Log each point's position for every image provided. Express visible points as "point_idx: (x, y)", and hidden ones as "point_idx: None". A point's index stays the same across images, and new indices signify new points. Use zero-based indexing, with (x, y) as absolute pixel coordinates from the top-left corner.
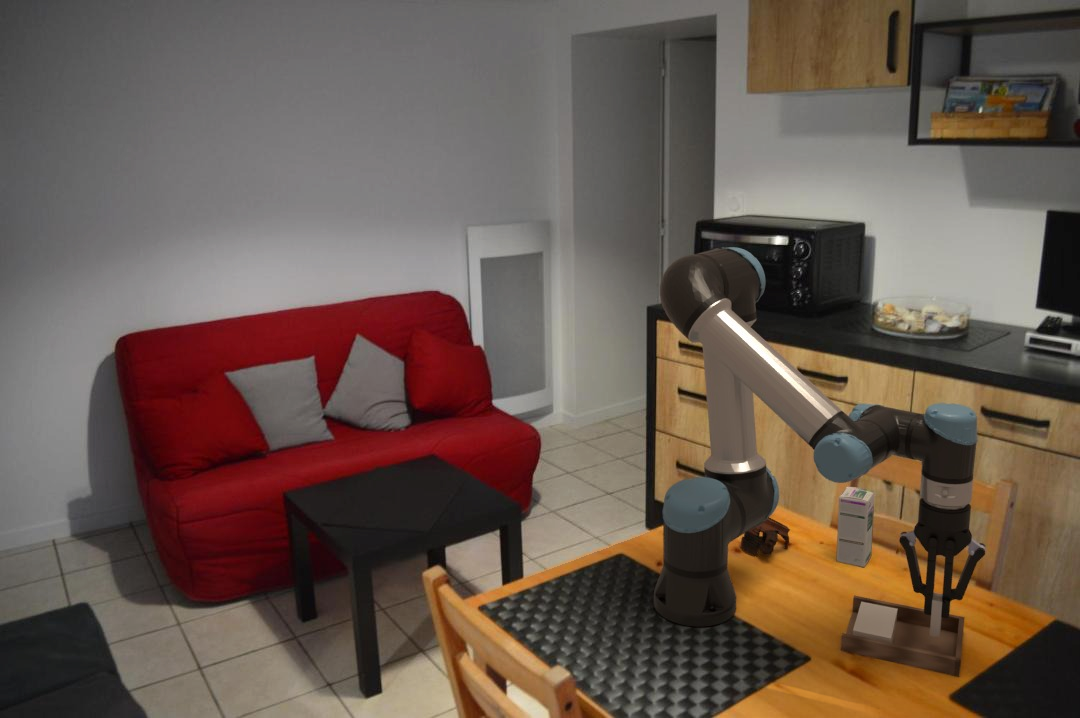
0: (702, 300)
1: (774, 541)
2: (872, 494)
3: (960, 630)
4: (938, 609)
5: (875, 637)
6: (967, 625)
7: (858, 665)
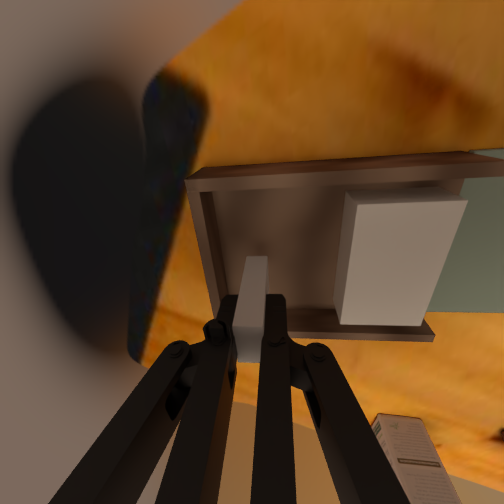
0: None
1: None
2: None
3: (214, 296)
4: (245, 305)
5: (397, 201)
6: None
7: (416, 132)
